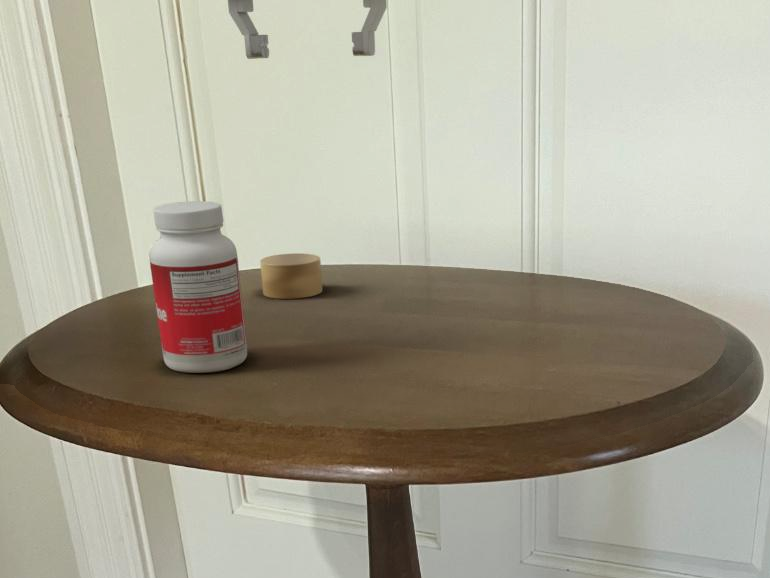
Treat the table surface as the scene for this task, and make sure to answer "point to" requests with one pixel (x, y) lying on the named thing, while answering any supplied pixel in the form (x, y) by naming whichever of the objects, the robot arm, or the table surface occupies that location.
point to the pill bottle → (197, 289)
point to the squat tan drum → (291, 276)
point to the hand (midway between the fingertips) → (310, 57)
